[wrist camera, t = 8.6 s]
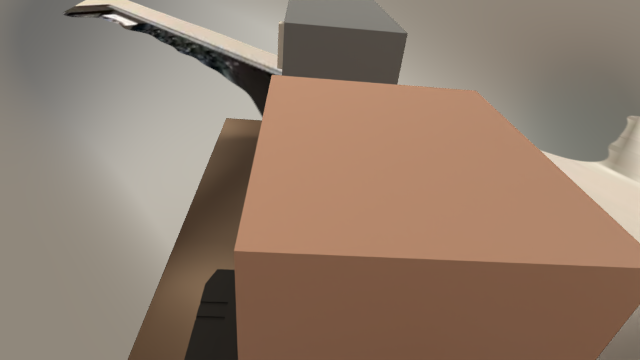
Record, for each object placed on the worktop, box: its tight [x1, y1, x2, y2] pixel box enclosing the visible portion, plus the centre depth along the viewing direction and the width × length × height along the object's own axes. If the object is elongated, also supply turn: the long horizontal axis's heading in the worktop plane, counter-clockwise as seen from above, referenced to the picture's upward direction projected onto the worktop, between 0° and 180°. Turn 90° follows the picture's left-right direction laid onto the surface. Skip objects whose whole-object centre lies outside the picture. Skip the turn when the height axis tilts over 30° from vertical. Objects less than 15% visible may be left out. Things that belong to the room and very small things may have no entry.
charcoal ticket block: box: [277, 0, 407, 85], centre depth 25 cm, size 5×14×12 cm, turn 2°
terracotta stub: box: [234, 75, 640, 360], centre depth 10 cm, size 5×6×12 cm
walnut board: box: [128, 118, 262, 360], centre depth 23 cm, size 16×32×2 cm, turn 2°
